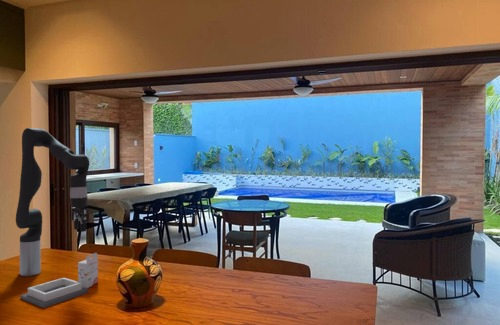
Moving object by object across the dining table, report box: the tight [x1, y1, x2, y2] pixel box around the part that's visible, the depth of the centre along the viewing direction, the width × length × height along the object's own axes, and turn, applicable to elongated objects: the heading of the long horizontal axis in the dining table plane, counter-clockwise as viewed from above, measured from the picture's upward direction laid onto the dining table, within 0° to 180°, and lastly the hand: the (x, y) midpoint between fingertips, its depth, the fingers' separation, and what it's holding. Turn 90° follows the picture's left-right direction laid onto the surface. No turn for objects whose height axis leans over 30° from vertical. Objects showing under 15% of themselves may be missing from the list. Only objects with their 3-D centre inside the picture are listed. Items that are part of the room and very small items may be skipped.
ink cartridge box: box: [77, 252, 99, 289], centre depth 177 cm, size 9×5×15 cm, turn 168°
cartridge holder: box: [20, 277, 89, 309], centre depth 163 cm, size 18×20×4 cm
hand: (80, 230), depth 178 cm, fingers open, 8 cm apart
